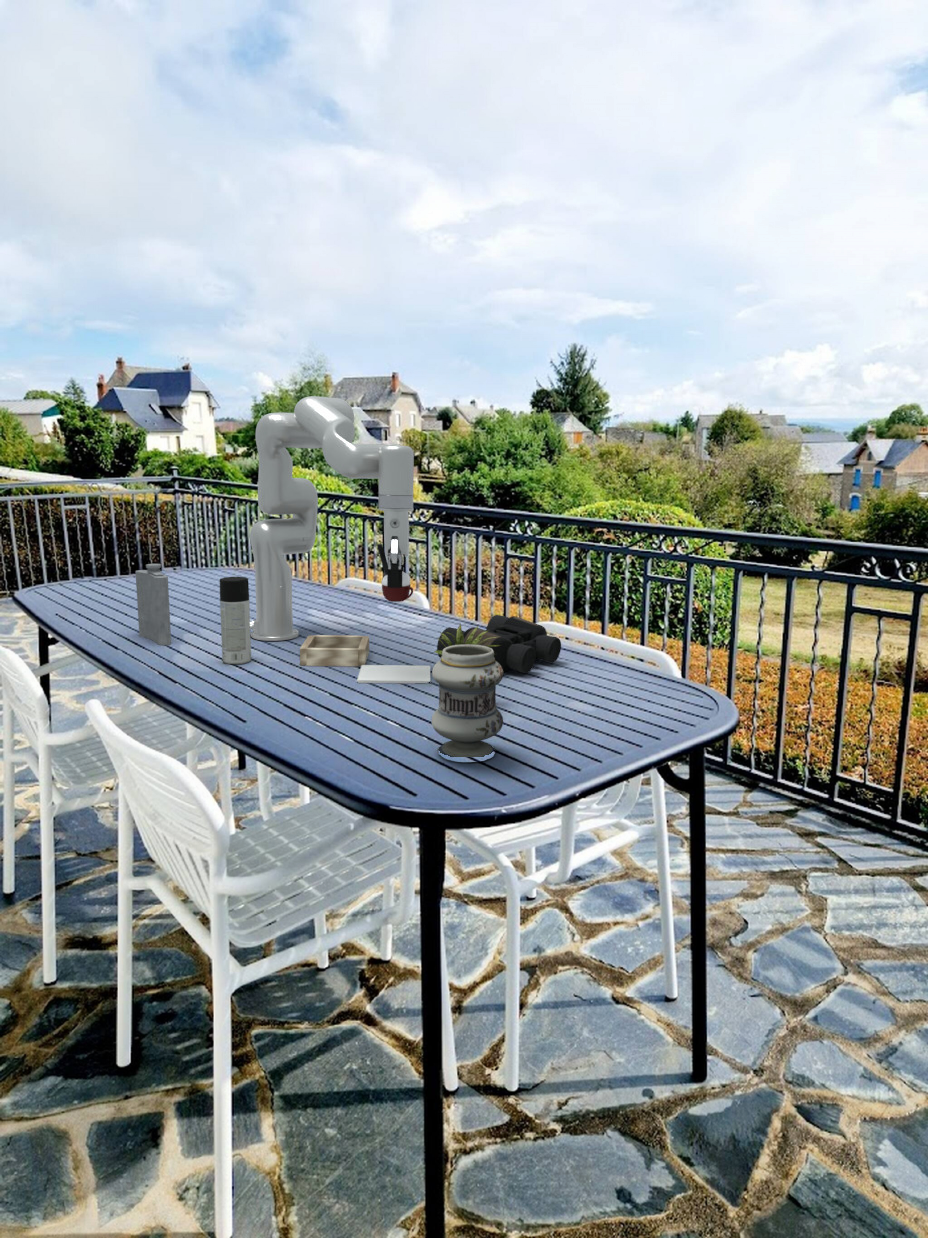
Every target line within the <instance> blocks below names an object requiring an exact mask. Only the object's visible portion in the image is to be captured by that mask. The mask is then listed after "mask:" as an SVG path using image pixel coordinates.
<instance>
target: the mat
mask: <svg viewBox="0 0 928 1238" xmlns="http://www.w3.org/2000/svg"><path fill="white" fill-rule="evenodd" d="M357 682H358V683H357ZM427 682H430V683H431V665H397V664H396V665H394V664H393V665H391V664H389V665H388V664H387V665H386V664H382V665H381V664H365V665H362V666H360V669H359V672H358V676H357V679H356V683H357V684H415V683H427Z"/></svg>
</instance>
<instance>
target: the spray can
mask: <svg viewBox="0 0 928 1238" xmlns="http://www.w3.org/2000/svg"><path fill="white" fill-rule="evenodd" d="M249 588H250V586H249V577H245V576H226V577H221V578H220V579H219V608H220V610H219V611H220V629H221V630H220V633H221V634H220V635H221V655H222V656H221V658H222V662H223V663H224V664H227V665H229V664H230V665H241V664H247V663H249V662H251V660H252V645H251V644H252V641H251V638H252V637H251V629H250V622H251V618H250V617H251V613H250V612H251V611H250V589H249Z"/></svg>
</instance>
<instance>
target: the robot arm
mask: <svg viewBox="0 0 928 1238" xmlns="http://www.w3.org/2000/svg"><path fill="white" fill-rule="evenodd" d="M354 422H355V413H354V410H353V407H352V406H351V405H350V403H349V402H347V401H346V400H344V399H343V398H339V397H328V396H318V395H317V396H314V395H311V396H306V397H303V398H301V399H300V400H299V401H298V402H297V403H296V404H295V406H294V410H293V412H271V413H267V414H264V415H262V416H261V417H260V419H259V420H258V422H257V424H256V428H255V443H256V449H257V453H258V477H257V478H258V479H257V503H258V507H259V509H260V511H261V512H262V513H265V514H266V515H275V516H276V515H280V516H281V515H292V518H272V519H271V518H269V519H263V520H259V521H258V522H257V521H256V522H255V523H254V524H253V525H252V526H251V528H250V532H249V539H250V541H249V542H250V546H251V551H252V554H253V555H252V556H253V562H254V563H253V564H254V580H255V581H254V583H255V614H256V616H255V617H256V618H255V620H252V621H250V630H252V631H250V637H251V638H253V639H255V640H257V641H258V640H259V641H265V642H267V641H268V642H278V641H279V642H280V641H286V640H287V641H288V640H292V639H296V638H298V637H299V630H297V629H296V628H293V627H294V624H293V623H294V622H293V621H294V620H293V618H294V617H293V579H292V577H293V576H292V575H293V574H292V570H291V567H290V565H289V563H288V562H287V560H286V559H285V557H284V555H286V556H287V555H294V554H296V555H298V554H304V553H308V552H309V551H311V550H312V549H313V548H314V545H315V542H316V536H317V535H316V533H317V524H318V523H317V520H318V506H319V499H318V491H317V488H316V486H315V485H314V483H313V482H312V481H311V480H309V479H307V478H303V477H293V469H294V468H293V466H294V464H293V459H292V457H291V454H290V453H289V450H288V449H287V448H292V449H293V448H295V449H321V450H322V453H323V454H322V455H323V457H324V460H325V462H326V464H327V465H328V466H329V467H331V468H332V469H333V470H334V471H336V472H337V473H338V474H339V475H341V476H342V477H345V478H347V479H356V480H357V479H365V480H367V479H371V480H372V479H374V480H375V479H378V511H383V513H384V514H383V532H384V533H383V534H384V535H383V536H384V553H385V556H386V557H388V560H387V563H388V569H387V586H388V587H389V588H401V587H402V571H403V572H404V564H403V555H404V557H405V558H407V556H408V555H409V553H410V550H409V549H410V547H409V546H410V545H409V542H410V540H409V538H410V534H409V533H410V523H409V522H410V519H409V518H410V517H409V512H412V511H414V474H415V473H414V470H415V469H414V463H415V462H414V461H415V459H414V458H415V457H414V456H415V453H414V450H413V448H412V447H410V446H407V445H397V444H396V445H393V444H391V445H389V444H377V443H376V444H374V443H353V441H354V439H355V434H356V428H355V424H354Z"/></svg>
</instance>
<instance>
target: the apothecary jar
mask: <svg viewBox="0 0 928 1238" xmlns="http://www.w3.org/2000/svg"><path fill="white" fill-rule="evenodd" d="M431 674H432V678H433V680H434V681H435V682H436V683H437V684H438V690H439V691H438V692H439V693H438V694H439V695H438V701H439V702H438V708H437V709H436V710H434V712H433V714H432V716H431V721H430V722H431V726H432V728H433V730H434V731H435V732H436V733H437V734H438V735H440V736H441V737H443V738H445V739H447V740H448V741H445V742H444V743H443V744H444V745H443V744H442V745H440V746H439V747H438V748H439V751H440V753H442V754H444V755H448V756H450V757H484V756H485V755H489V754H491V753H492V752H493V750H494V749H495V747H494V746H493V747H494V748H493V747H492V745H491V744H490V743H488V742H485V741H484V740H488V739H491V738H492V737H494V736H496V735H497V734H498V733H499V732H500V731H501V730H502V728H503V726H504V718H503V715H502V713H501V712H500V711H499V709H498V708H497V701H496V700H497V699H496V693H497V692H496V691H497V685H498V684H500V682H502V680H503V677H504V672H503V669H502V667H501V665H500V664H499V663H498V662H496V661H495V658H494V651H493V649H491V648H489V647H486V646H481V645H467V644H466V645H454V646H449V647H446V648H444V649H443V651H442V657H441V658H440V659H439V660H438V661H437V662H436V663H435V664H434V665H433V667H432V672H431Z"/></svg>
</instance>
